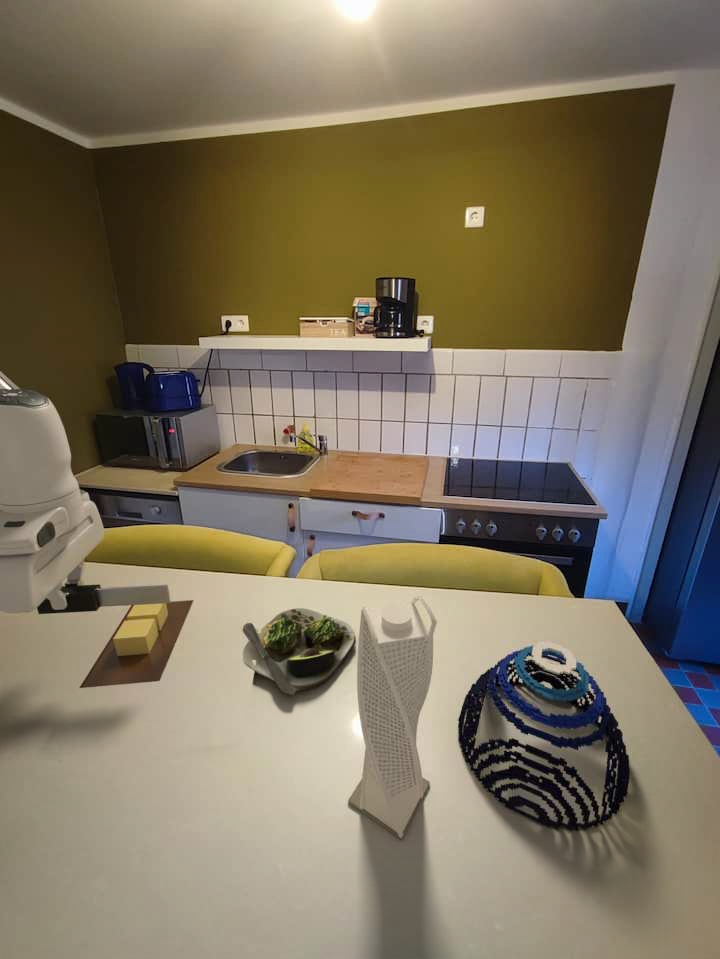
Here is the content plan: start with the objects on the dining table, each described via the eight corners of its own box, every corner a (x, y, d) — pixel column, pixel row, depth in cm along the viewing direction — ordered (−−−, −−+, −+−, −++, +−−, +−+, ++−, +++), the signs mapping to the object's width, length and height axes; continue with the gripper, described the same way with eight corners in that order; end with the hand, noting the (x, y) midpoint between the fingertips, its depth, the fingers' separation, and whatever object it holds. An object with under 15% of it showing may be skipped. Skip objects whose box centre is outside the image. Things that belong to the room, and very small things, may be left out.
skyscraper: (440, 791, 50) (457, 590, 41) (409, 859, 44) (419, 640, 34) (379, 754, 55) (380, 564, 45) (342, 811, 48) (334, 605, 39)
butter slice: (130, 633, 74) (126, 616, 73) (140, 616, 78) (136, 600, 77) (160, 630, 75) (157, 614, 74) (168, 614, 79) (165, 598, 78)
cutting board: (49, 698, 63) (46, 690, 63) (108, 612, 82) (107, 606, 81) (161, 688, 65) (159, 680, 64) (194, 606, 84) (193, 599, 83)
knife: (38, 614, 61) (33, 596, 60) (48, 604, 64) (43, 587, 63) (167, 607, 63) (164, 590, 62) (173, 597, 65) (170, 580, 64)
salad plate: (210, 662, 70) (206, 639, 68) (281, 603, 84) (279, 583, 82) (305, 713, 60) (303, 688, 59) (367, 637, 75) (367, 615, 73)
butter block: (117, 656, 69) (112, 638, 68) (128, 637, 73) (124, 620, 72) (149, 653, 70) (145, 636, 68) (158, 634, 74) (155, 618, 73)
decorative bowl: (477, 665, 69) (485, 589, 64) (621, 714, 60) (644, 630, 55) (439, 775, 52) (446, 684, 47) (630, 866, 43) (663, 766, 38)
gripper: (63, 485, 67) (82, 561, 72) (-38, 551, 48) (-2, 649, 53) (105, 483, 67) (122, 560, 72) (22, 548, 48) (52, 646, 53)
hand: (69, 598), depth 62 cm, fingers closed on knife, 2 cm apart
